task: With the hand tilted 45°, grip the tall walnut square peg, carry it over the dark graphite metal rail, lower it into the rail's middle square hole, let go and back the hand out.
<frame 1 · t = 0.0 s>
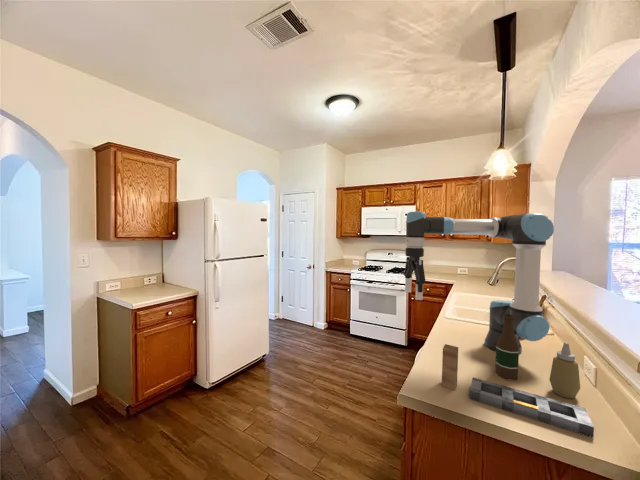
hand: (413, 295, 119), 28 cm above the countertop, tool pointing down, fingers open, 13 cm apart
clementine: (520, 337, 148), on the countertop
walnut peg: (449, 385, 100), on the countertop
metal rail: (524, 407, 87), on the countertop
squeeze bottle: (563, 394, 95), on the countertop
beer bottle: (506, 375, 107), on the countertop
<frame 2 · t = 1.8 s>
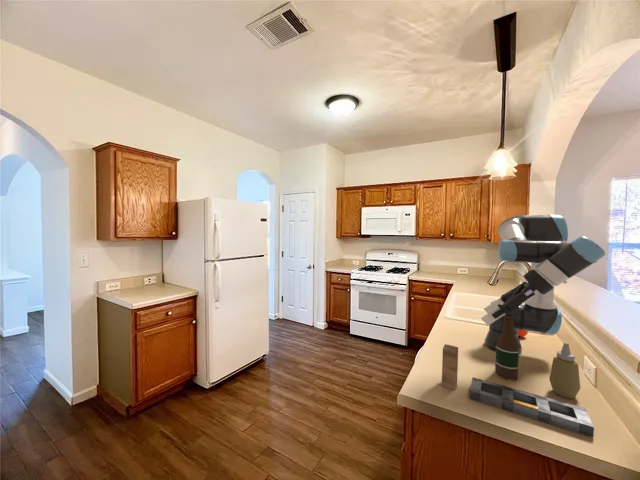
hand: (485, 316, 93), 27 cm above the countertop, tool tilted 45°, fingers open, 13 cm apart
nothing on the countertop moved.
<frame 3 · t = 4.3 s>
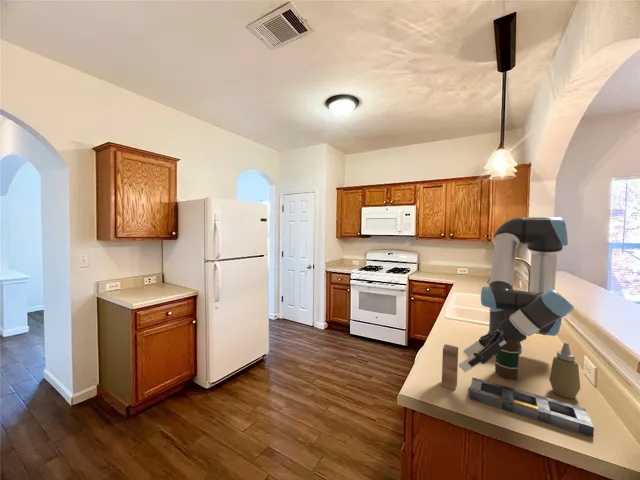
hand: (463, 360, 96), 11 cm above the countertop, tool tilted 45°, fingers open, 13 cm apart
nothing on the countertop moved.
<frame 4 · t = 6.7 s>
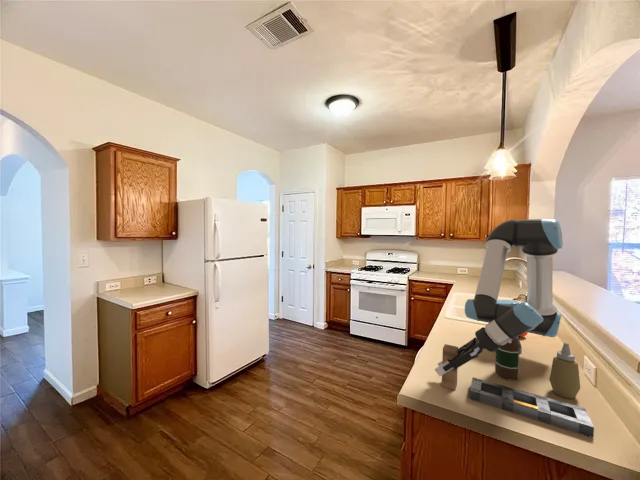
hand: (438, 369, 102), 5 cm above the countertop, tool tilted 45°, fingers closed on walnut peg, 4 cm apart
walnut peg: (449, 385, 100), on the countertop, touching gripper
everything else where it was.
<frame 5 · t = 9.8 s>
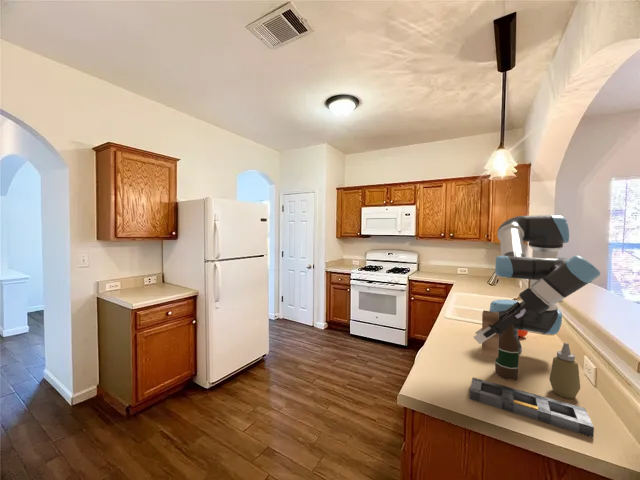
hand: (477, 338, 94), 20 cm above the countertop, tool tilted 45°, fingers closed on walnut peg, 4 cm apart
walnut peg: (490, 354, 91), point 15 cm above the countertop, touching gripper
everything else where it was.
when the fingers open (6 cm above the countertop, at t = 12.7 s): walnut peg drops 1 cm, resting in metal rail.
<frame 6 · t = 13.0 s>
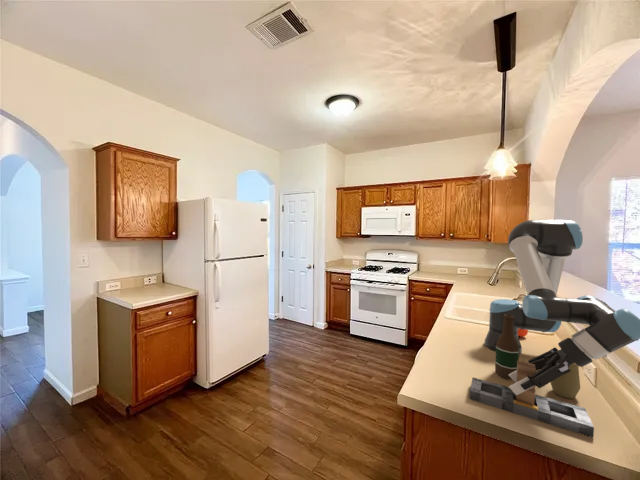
hand: (512, 384, 89), 7 cm above the countertop, tool tilted 45°, fingers open, 8 cm apart
walnut peg: (524, 407, 87), resting in metal rail
everything else where it was.
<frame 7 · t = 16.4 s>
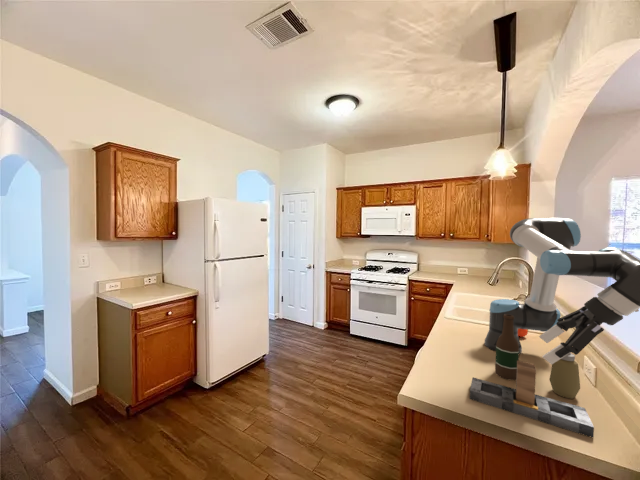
hand: (544, 349, 85), 20 cm above the countertop, tool tilted 40°, fingers open, 13 cm apart
nothing on the countertop moved.
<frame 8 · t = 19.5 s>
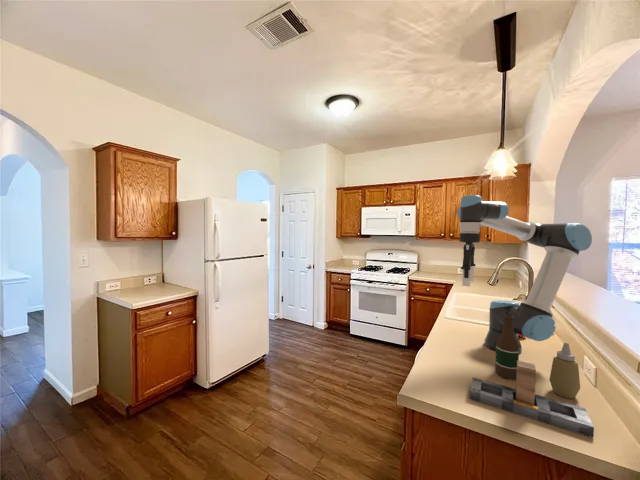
hand: (467, 283, 114), 35 cm above the countertop, tool pointing down, fingers open, 13 cm apart
nothing on the countertop moved.
at the end: walnut peg 0.0 cm off-centre on the metal rail, point 0.0 cm above the metal rail's base; walnut peg tilted 0°; the gripper is holding nothing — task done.
